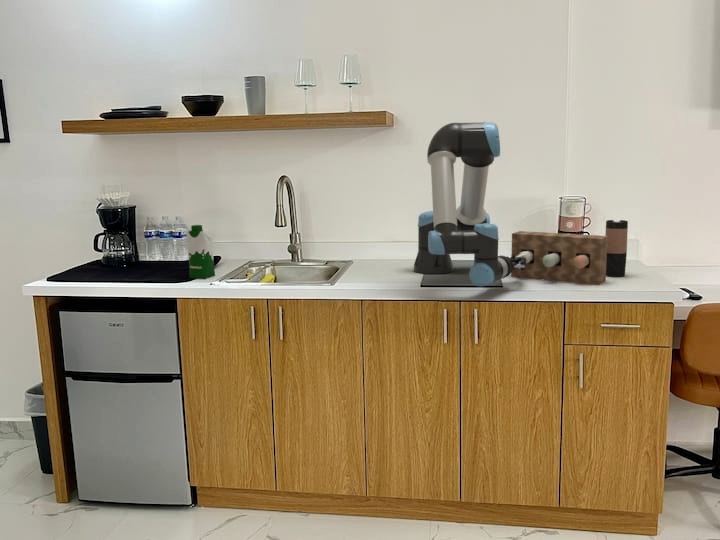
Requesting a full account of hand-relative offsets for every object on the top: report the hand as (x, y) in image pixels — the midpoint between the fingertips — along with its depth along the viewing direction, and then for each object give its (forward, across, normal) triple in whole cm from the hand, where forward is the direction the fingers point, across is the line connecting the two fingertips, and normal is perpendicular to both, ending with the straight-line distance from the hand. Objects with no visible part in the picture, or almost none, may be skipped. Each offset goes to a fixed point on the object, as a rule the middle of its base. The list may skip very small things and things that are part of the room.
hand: (523, 257), depth 264 cm
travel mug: (+24, +26, -8) cm, 36 cm away
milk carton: (-51, -109, -8) cm, 120 cm away
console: (+7, +10, -8) cm, 15 cm away
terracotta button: (+4, +20, -2) cm, 20 cm away
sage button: (+1, +10, -2) cm, 10 cm away
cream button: (+4, 0, -2) cm, 4 cm away
